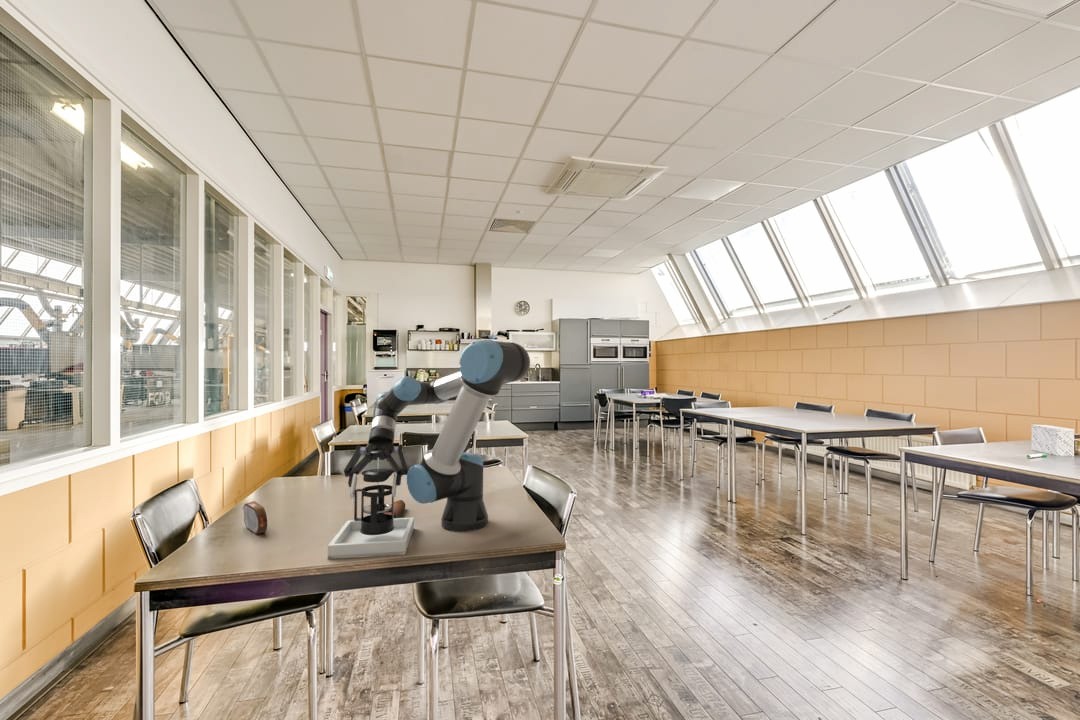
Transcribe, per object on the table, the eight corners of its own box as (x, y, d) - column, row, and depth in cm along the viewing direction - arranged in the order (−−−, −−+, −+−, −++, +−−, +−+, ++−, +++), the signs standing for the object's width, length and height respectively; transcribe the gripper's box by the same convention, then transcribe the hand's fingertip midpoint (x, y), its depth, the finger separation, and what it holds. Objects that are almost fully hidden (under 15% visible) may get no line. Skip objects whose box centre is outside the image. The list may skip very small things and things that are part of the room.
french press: (399, 524, 144) (400, 447, 145) (392, 535, 135) (393, 453, 135) (359, 525, 143) (360, 448, 144) (349, 535, 134) (350, 453, 134)
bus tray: (413, 528, 151) (413, 517, 151) (405, 554, 130) (405, 541, 130) (347, 531, 148) (347, 520, 148) (327, 559, 126) (327, 545, 126)
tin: (268, 535, 145) (268, 507, 146) (256, 537, 143) (257, 509, 143) (252, 524, 156) (252, 498, 156) (241, 526, 153) (241, 500, 154)
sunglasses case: (381, 509, 172) (391, 493, 173) (398, 519, 173) (408, 502, 173) (370, 525, 154) (381, 507, 155) (390, 535, 155) (401, 517, 156)
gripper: (420, 440, 157) (415, 500, 141) (345, 441, 153) (332, 503, 137) (419, 425, 152) (413, 486, 136) (342, 426, 148) (327, 489, 132)
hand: (372, 495), depth 137 cm, fingers closed on french press, 11 cm apart
